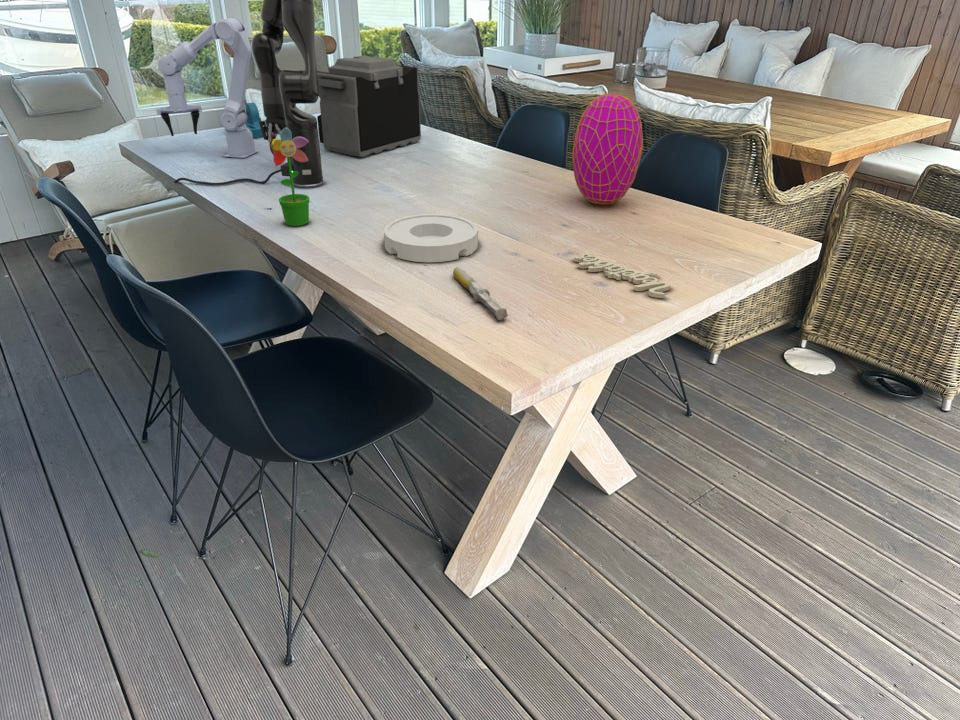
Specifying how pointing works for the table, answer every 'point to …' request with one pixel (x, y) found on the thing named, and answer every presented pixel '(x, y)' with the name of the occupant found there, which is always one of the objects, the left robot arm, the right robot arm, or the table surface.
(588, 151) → the decorative egg
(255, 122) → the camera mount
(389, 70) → the cooler box
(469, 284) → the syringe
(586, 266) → the decorative sign
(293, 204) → the potted flower
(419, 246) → the ashtray
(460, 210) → the table surface
